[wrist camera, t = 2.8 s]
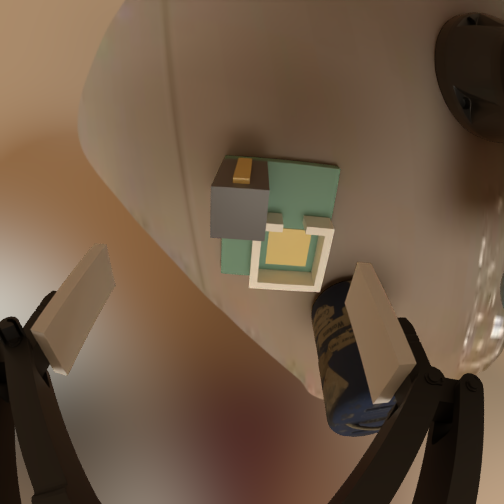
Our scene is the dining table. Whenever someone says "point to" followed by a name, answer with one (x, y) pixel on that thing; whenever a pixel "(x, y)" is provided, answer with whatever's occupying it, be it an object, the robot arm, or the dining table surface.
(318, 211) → the board
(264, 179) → the plug
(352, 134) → the dining table surface
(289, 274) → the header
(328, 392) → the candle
